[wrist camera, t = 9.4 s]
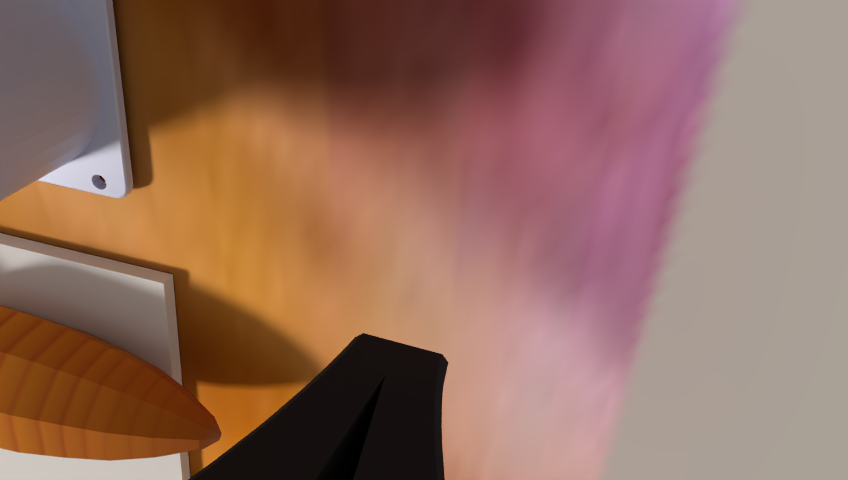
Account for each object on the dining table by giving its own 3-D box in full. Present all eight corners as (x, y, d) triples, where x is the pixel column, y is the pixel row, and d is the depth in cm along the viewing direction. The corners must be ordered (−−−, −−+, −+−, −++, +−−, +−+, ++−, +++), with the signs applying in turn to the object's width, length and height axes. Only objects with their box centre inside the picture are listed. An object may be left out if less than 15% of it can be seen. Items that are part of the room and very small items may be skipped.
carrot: (200, 396, 21) (-230, 275, 22) (172, 540, 21) (-241, 415, 23) (258, 349, 25) (-95, 252, 27) (234, 468, 26) (-109, 368, 28)
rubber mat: (-89, 509, 36) (-99, 518, 36) (-228, 178, 26) (-245, 184, 26) (200, 598, 34) (194, 609, 34) (172, 274, 24) (163, 283, 23)
